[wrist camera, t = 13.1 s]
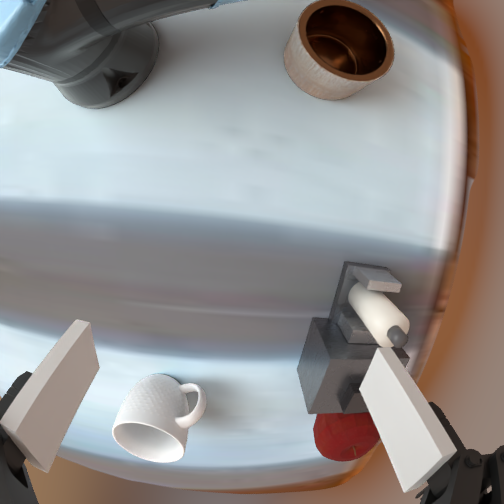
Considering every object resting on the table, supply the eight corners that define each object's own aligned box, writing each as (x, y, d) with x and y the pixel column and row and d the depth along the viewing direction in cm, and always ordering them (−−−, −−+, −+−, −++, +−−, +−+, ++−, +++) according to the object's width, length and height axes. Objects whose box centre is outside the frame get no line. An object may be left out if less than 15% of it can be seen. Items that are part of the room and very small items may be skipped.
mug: (189, 347, 41) (174, 409, 29) (225, 391, 44) (223, 452, 32) (121, 373, 43) (97, 427, 30) (159, 412, 46) (145, 465, 34)
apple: (367, 408, 48) (388, 456, 35) (312, 426, 49) (325, 479, 36) (363, 370, 44) (392, 424, 32) (301, 391, 45) (315, 452, 32)
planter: (375, 66, 30) (410, 45, 21) (333, 117, 32) (363, 104, 23) (313, 17, 28) (333, -17, 19) (265, 65, 30) (273, 35, 21)
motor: (327, 258, 38) (361, 298, 26) (399, 269, 39) (444, 304, 27) (292, 382, 44) (304, 436, 33) (355, 382, 45) (378, 430, 34)
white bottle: (353, 278, 37) (392, 323, 26) (379, 282, 38) (423, 324, 26) (344, 307, 39) (377, 357, 27) (370, 309, 39) (408, 357, 27)
